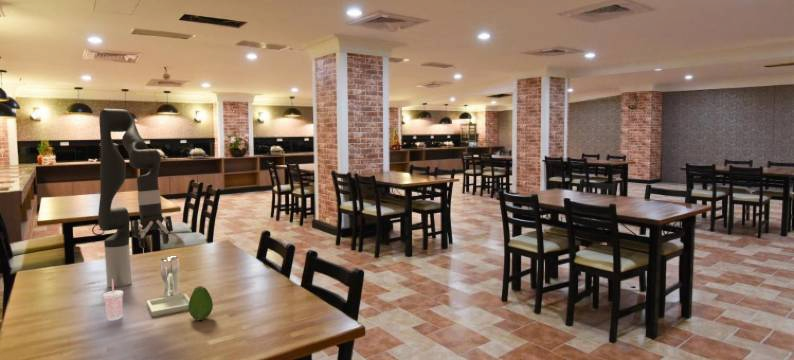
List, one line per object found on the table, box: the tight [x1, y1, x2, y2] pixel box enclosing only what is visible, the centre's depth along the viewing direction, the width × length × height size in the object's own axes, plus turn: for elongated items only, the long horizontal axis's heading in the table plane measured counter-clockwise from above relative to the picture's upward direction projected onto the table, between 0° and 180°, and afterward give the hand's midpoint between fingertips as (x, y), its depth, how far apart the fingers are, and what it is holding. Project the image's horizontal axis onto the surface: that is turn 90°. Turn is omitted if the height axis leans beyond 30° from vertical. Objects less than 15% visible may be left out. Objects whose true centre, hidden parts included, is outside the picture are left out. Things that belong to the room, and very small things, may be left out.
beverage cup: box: [102, 279, 124, 321], centre depth 174 cm, size 6×6×14 cm
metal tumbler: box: [159, 255, 181, 298], centre depth 198 cm, size 7×7×15 cm
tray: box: [145, 293, 191, 318], centre depth 184 cm, size 14×14×2 cm
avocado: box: [187, 285, 214, 321], centre depth 172 cm, size 8×8×12 cm
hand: (154, 245), depth 185 cm, fingers open, 8 cm apart
